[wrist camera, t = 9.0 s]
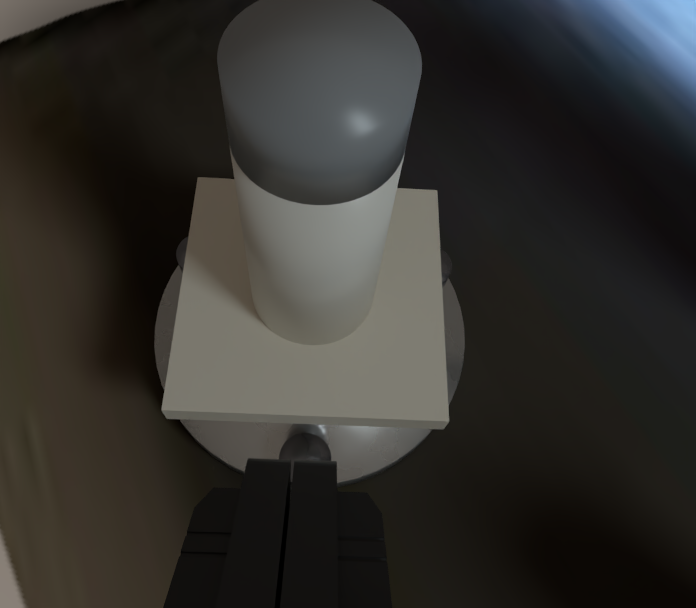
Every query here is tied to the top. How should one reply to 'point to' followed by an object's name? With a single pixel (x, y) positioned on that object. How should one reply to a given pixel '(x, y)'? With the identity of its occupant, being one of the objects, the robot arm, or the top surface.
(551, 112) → the top surface
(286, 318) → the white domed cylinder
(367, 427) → the base
